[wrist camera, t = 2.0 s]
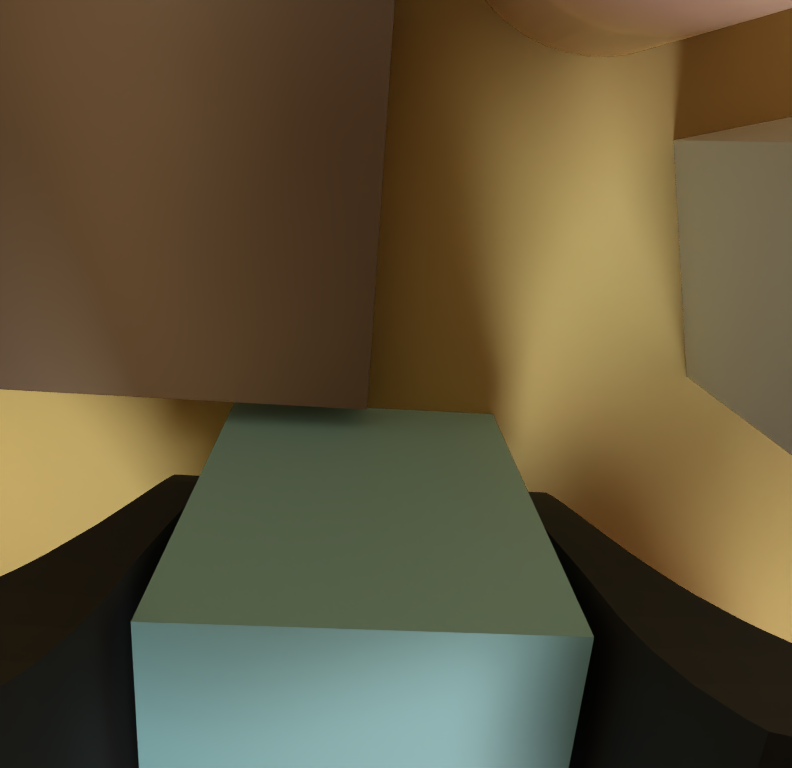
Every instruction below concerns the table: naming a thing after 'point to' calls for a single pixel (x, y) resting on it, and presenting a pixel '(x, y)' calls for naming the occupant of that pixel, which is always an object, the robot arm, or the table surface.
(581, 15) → the peach rounded piece
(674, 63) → the table surface
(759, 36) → the table surface
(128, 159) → the board
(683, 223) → the grey cube
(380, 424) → the teal block
